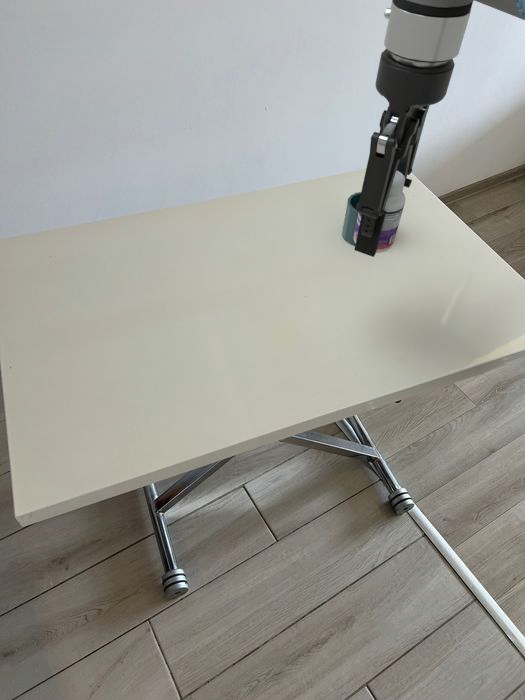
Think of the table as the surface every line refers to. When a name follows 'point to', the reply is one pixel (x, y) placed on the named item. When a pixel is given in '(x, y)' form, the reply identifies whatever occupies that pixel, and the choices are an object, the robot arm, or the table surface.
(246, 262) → the table surface
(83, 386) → the table surface
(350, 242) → the cup
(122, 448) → the table surface
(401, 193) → the pill bottle
